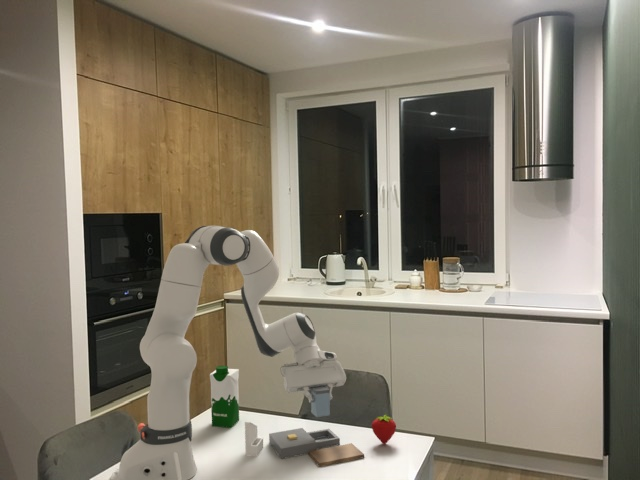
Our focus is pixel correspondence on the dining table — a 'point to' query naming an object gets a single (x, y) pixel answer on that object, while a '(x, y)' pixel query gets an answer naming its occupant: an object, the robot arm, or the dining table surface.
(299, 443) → the grey socket base
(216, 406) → the milk carton
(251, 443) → the white slotted stand
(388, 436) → the strawberry
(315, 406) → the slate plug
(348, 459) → the walnut pad
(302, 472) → the dining table surface
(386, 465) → the dining table surface
